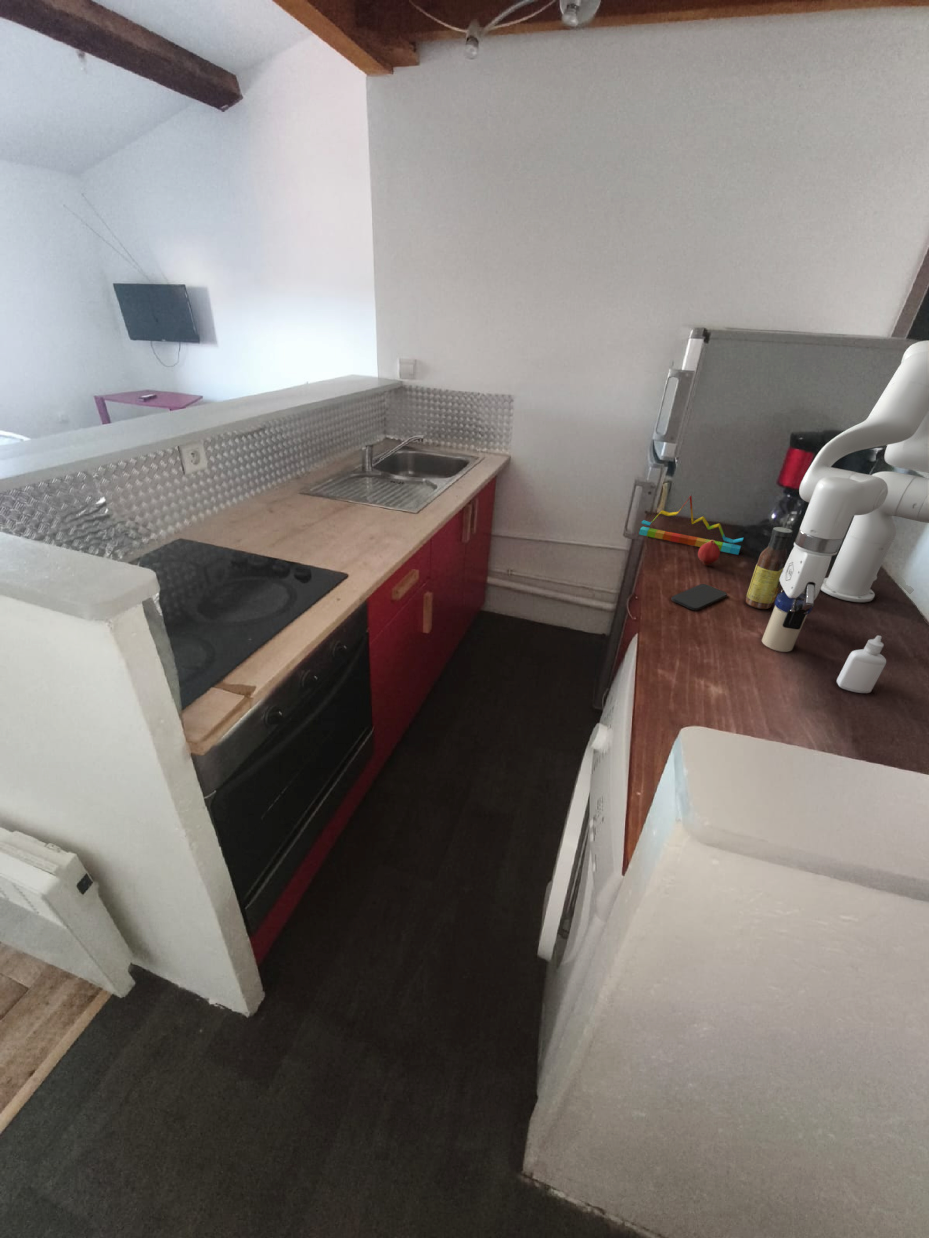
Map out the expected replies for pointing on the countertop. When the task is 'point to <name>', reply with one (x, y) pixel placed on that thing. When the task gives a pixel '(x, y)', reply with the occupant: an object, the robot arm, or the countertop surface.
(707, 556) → the onion
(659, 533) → the chart
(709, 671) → the countertop surface
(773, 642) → the mayonnaise jar
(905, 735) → the countertop surface
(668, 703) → the countertop surface
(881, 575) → the countertop surface
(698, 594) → the phone
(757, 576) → the sauce bottle
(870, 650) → the eye dropper bottle
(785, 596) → the jar lid
